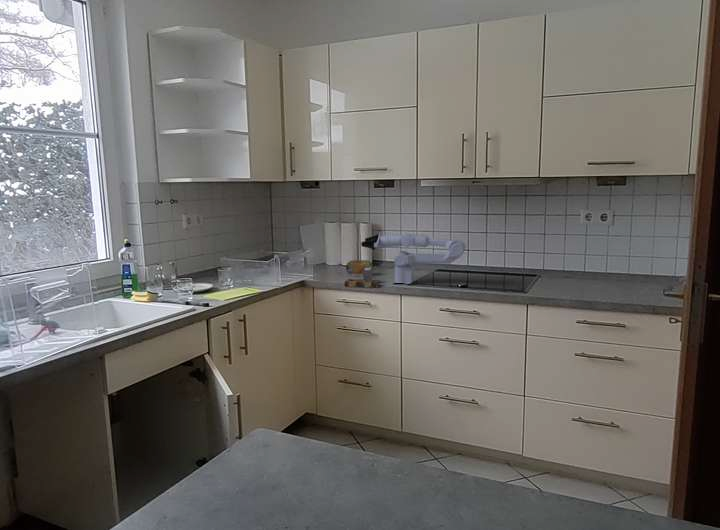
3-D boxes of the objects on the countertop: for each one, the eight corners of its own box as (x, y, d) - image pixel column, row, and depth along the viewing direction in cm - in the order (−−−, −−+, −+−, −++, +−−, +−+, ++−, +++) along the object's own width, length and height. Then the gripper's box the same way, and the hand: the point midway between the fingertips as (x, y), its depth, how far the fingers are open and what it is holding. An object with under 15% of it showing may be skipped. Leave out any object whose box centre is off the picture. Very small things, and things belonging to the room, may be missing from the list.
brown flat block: (379, 284, 259) (379, 279, 258) (375, 288, 252) (375, 282, 251) (349, 283, 263) (348, 278, 263) (344, 286, 256) (344, 281, 256)
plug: (372, 282, 265) (372, 268, 264) (370, 283, 262) (370, 269, 260) (365, 282, 266) (365, 267, 265) (363, 283, 263) (363, 269, 261)
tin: (346, 275, 285) (345, 260, 283) (347, 274, 288) (347, 259, 286) (372, 276, 281) (372, 260, 280) (374, 274, 284) (373, 259, 283)
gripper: (391, 230, 265) (366, 231, 269) (385, 237, 252) (358, 238, 256) (393, 243, 267) (367, 244, 271) (387, 251, 254) (360, 252, 258)
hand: (363, 242), depth 264 cm, fingers open, 7 cm apart
